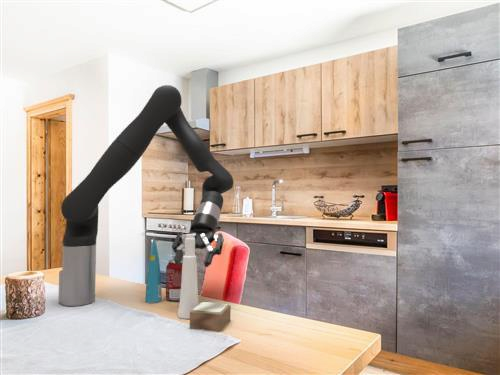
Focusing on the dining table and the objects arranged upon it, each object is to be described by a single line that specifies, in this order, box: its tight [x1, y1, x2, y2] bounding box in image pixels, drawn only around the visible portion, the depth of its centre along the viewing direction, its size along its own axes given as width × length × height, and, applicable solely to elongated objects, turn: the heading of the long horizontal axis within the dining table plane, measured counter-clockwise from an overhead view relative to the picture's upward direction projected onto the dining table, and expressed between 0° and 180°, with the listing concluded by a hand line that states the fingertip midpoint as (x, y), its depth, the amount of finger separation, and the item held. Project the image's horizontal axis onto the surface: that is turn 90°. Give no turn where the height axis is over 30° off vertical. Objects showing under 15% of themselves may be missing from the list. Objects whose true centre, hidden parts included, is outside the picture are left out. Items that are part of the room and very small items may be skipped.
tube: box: [144, 237, 163, 304], centre depth 113 cm, size 7×5×19 cm, turn 23°
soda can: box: [165, 259, 183, 302], centre depth 116 cm, size 7×7×12 cm
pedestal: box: [189, 301, 232, 332], centre depth 93 cm, size 8×8×4 cm
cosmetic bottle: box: [177, 233, 200, 320], centre depth 100 cm, size 6×6×22 cm
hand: (191, 264), depth 101 cm, fingers open, 8 cm apart
